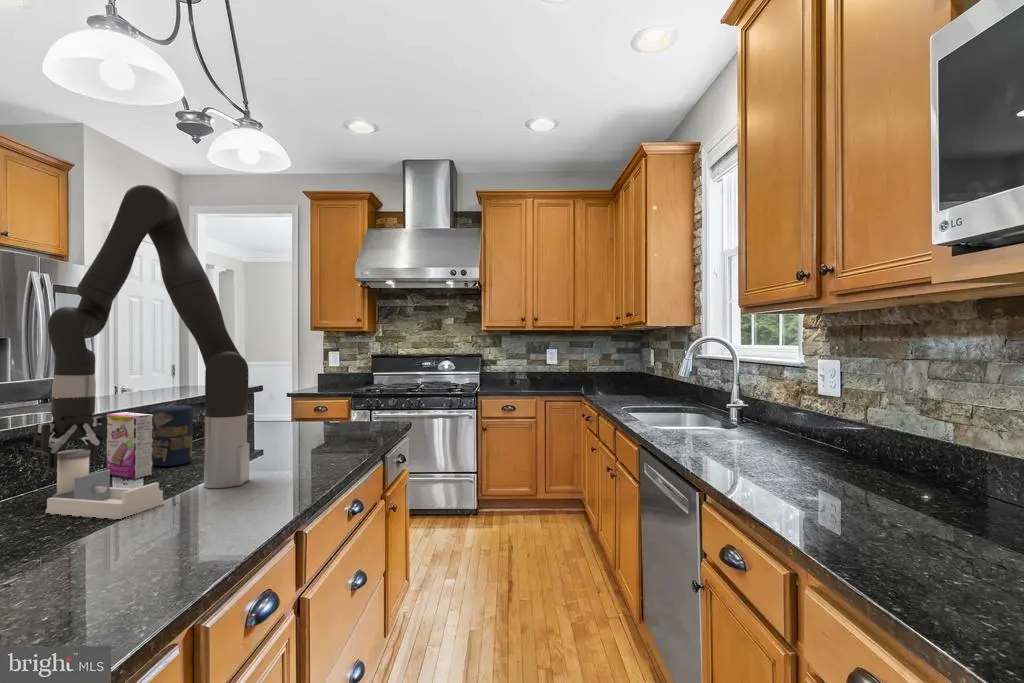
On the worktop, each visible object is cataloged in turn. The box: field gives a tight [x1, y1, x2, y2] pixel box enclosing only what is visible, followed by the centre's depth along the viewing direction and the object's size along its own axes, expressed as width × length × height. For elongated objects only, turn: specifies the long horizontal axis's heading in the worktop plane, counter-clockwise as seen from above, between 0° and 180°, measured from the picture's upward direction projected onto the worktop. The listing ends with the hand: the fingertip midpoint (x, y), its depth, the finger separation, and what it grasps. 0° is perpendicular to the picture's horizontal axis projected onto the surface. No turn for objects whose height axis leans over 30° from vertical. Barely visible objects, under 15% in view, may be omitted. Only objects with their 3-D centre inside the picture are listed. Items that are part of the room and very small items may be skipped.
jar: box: [56, 448, 90, 494], centre depth 113 cm, size 6×6×10 cm
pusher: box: [74, 469, 111, 501], centre depth 105 cm, size 3×7×6 cm, turn 170°
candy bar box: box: [105, 411, 154, 480], centre depth 131 cm, size 11×5×16 cm, turn 71°
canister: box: [152, 402, 194, 467], centre depth 144 cm, size 10×10×18 cm
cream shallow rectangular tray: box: [45, 482, 165, 520], centre depth 105 cm, size 18×10×5 cm, turn 80°
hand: (71, 465), depth 113 cm, fingers open, 8 cm apart
